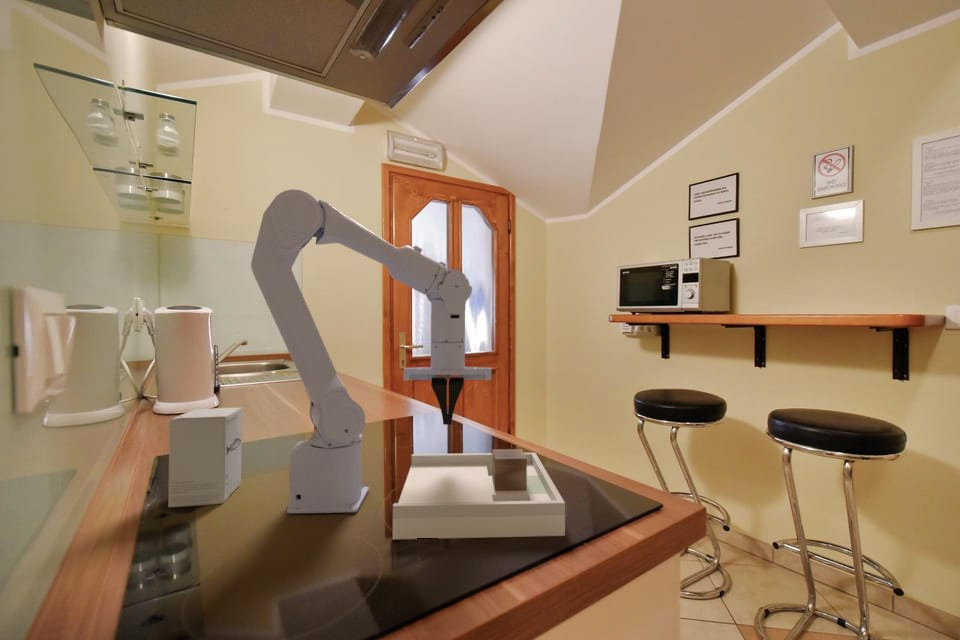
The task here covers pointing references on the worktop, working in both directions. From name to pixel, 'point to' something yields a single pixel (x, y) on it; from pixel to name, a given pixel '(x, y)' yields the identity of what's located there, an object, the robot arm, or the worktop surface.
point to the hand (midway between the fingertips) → (447, 423)
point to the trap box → (474, 500)
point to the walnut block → (509, 470)
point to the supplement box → (204, 456)
